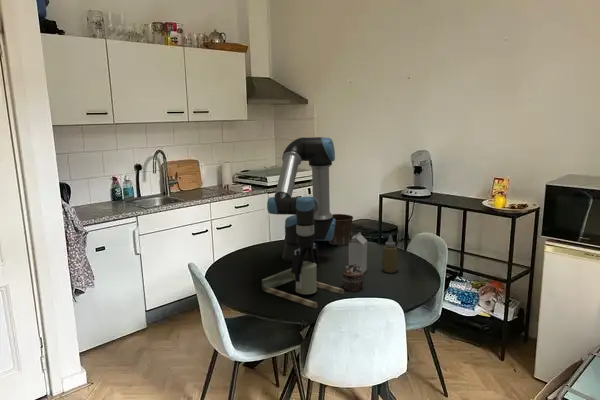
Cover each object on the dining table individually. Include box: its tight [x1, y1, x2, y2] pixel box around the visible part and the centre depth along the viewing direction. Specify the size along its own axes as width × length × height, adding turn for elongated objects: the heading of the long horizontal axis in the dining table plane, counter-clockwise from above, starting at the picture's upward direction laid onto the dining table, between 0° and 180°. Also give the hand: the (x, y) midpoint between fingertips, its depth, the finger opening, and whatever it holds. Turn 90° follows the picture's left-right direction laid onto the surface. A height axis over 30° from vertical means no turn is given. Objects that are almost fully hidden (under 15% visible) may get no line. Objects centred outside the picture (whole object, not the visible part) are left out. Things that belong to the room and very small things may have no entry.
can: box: [295, 260, 318, 295], centre depth 193 cm, size 9×9×12 cm
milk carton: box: [348, 231, 368, 275], centre depth 218 cm, size 7×7×19 cm
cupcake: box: [341, 264, 365, 292], centre depth 199 cm, size 10×10×10 cm
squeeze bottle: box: [381, 234, 399, 274], centre depth 218 cm, size 8×8×18 cm
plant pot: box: [328, 213, 354, 247], centre depth 268 cm, size 16×16×16 cm
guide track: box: [261, 267, 345, 309], centre depth 195 cm, size 30×19×5 cm, turn 49°
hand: (306, 284), depth 193 cm, fingers closed on can, 9 cm apart
